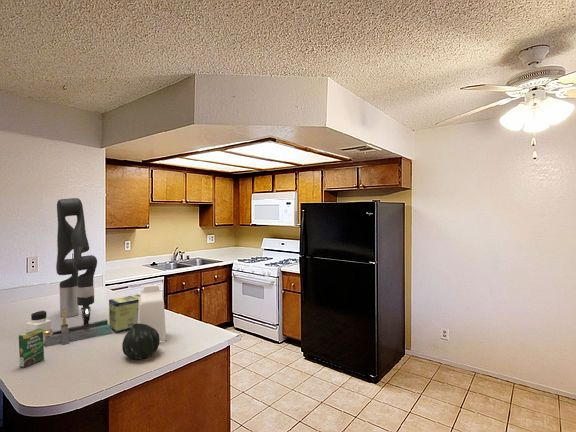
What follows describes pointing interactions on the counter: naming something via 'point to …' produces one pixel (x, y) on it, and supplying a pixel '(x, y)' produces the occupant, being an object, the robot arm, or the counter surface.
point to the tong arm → (84, 326)
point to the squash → (140, 341)
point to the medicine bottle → (39, 321)
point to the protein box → (123, 313)
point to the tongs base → (74, 334)
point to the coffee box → (31, 347)
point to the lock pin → (64, 317)
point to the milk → (152, 310)
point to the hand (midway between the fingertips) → (86, 328)
